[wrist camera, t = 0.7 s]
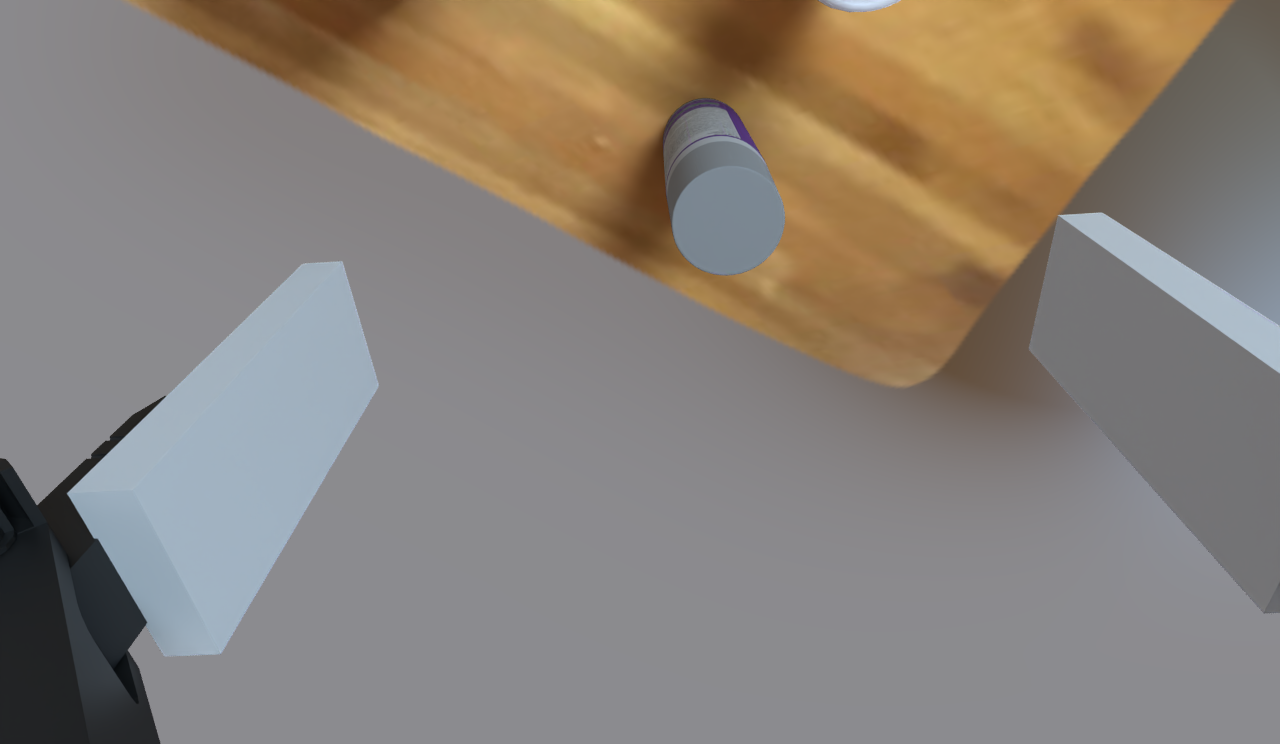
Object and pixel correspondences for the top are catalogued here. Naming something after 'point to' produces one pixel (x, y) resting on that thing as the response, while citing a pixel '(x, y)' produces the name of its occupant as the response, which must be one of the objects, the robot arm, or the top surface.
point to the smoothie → (858, 4)
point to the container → (719, 190)
